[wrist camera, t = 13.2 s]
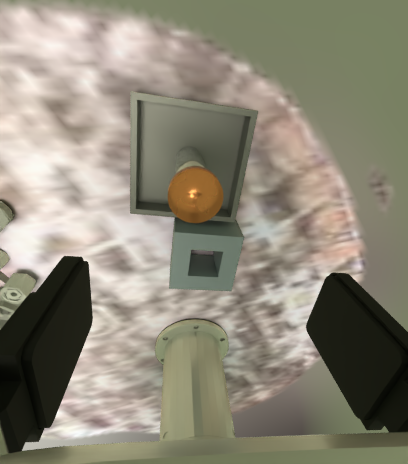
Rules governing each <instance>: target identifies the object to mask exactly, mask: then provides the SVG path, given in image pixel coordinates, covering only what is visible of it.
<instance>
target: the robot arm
mask: <svg viewBox="0 0 408 464" xmlns="http://www.w3.org/2000/svg"><path fill="white" fill-rule="evenodd" d="M92 319H93V316H92V303H91V290H90V277H89V264H88V262H87V261H83V258H82V257H74V256H64V257H63V258H62V259H61V260H60V262H59V263H58V264H57V265H56V267H55V268H54V269H53V271H52V272H51V273H50V275H49V276H48V277H47V278H46V280H45V281H44V282H43V284H42V285H41V286H40V287H39V289H38V290H37V291H36V292H32V293H30V294H29V295H28V296H27V297H26V298H25V299H24V301H23V302H22V303H21V304H20V306H19V307H18V308H17V309H16V311H15V312H14V313H13V314H12V316H11V317H10V318H9V319H8V321H7V322H6V323H5V324H4V326H3V327H2V328H1V329H0V464H408V332H407V331H406V330H405V329H404V328H403V327H402V326H401V325H400V324H399V323H398V322H397V321H396V320H395V319H394V318H393V317H392V316H391V315H390V314H389V313H388V312H387V311H386V310H385V309H384V308H383V307H382V306H381V305H380V304H379V303H378V302H377V301H375V300H374V299H373V298H372V297H371V296H370V295H369V294H368V293H367V292H366V291H365V290H364V289H363V288H362V287H361V286H360V285H359V284H358V283H357V282H356V281H355V280H354V279H353V278H352V277H351V276H350V275H349V274H346V273H331V274H330V275H329V276H327V277H326V279H325V281H324V283H323V286H322V288H321V290H320V293H319V295H318V298H317V300H316V302H315V305H314V307H313V310H312V312H311V314H310V317H309V319H308V322H307V325H306V329H307V332H308V334H309V336H310V338H311V339H312V341H313V343H314V345H315V346H316V348H317V350H318V352H319V353H320V355H321V357H322V359H323V360H324V362H325V364H326V366H327V367H328V369H329V371H330V373H331V374H332V376H333V378H334V380H335V381H336V383H337V384H338V386H339V388H340V390H341V392H342V393H343V395H344V397H345V399H346V400H347V402H348V404H349V406H350V407H351V409H352V411H353V413H354V414H355V415H356V417H358V418H359V419H360V420H361V421H362V423H363V425H364V426H365V428H366V430H381V429H382V428H383V427H384V426H385V427H386V428H387V429H388V431H389V433H361V434H329V435H301V436H273V437H246V438H235V433H234V428H233V421H232V415H231V409H230V403H229V397H228V391H227V386H226V380H225V374H224V368H223V362H222V360H223V358H224V357H225V356H226V354H227V352H228V347H229V344H228V339H227V335H226V333H225V332H224V330H223V329H222V328H221V327H219V326H218V325H216V324H214V323H212V322H209V321H205V320H196V319H194V320H185V321H180V322H178V323H175V324H173V325H171V326H169V327H167V328H166V329H165V330H164V331H162V333H161V334H160V335H159V336H158V338H157V340H156V345H155V353H156V357H157V359H158V361H159V362H160V363H161V364H162V365H164V367H163V385H162V403H161V422H160V440H159V441H150V442H127V443H112V444H96V445H79V446H63V447H53V448H45V449H36V450H27V451H22V449H23V446H24V444H25V442H39V440H40V438H41V435H42V433H43V430H44V428H50V427H51V425H52V423H53V421H54V419H55V416H56V414H57V411H58V409H59V406H60V404H61V401H62V399H63V396H64V394H65V391H66V389H67V386H68V384H69V381H70V379H71V376H72V374H73V371H74V369H75V366H76V363H77V361H78V358H79V356H80V353H81V351H82V348H83V346H84V343H85V341H86V338H87V336H88V333H89V331H90V328H91V325H92Z"/></svg>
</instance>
